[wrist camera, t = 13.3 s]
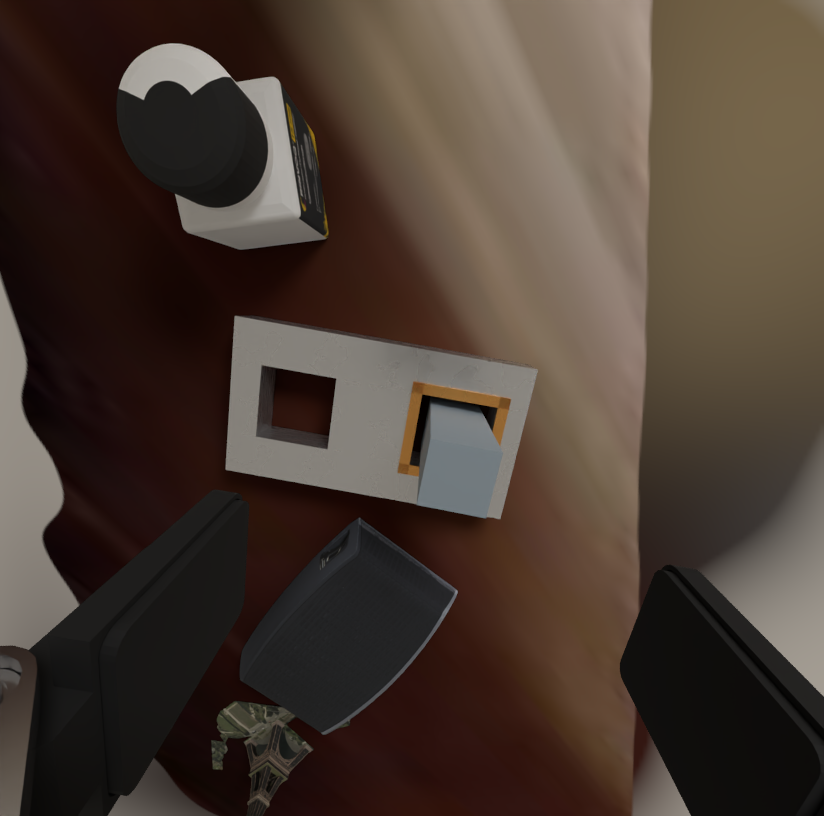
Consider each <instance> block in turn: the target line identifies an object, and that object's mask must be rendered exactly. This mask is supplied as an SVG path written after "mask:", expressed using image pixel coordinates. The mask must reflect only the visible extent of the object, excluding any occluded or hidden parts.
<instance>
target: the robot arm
mask: <svg viewBox="0 0 824 816" xmlns="http://www.w3.org/2000/svg"><path fill="white" fill-rule="evenodd" d="M248 516H249V504H248V502H247V501H242V496H241V495H240V494H239V493H233V492H227V491H221V490H213V491H211V492H210V493H209V494H207V495H206V496H205V497H204V498H203V499H202V500H201V501H200V502H198V503H197V504H196V505H195V506H194V507H193V508H192V509H190V510H189V511H188V512H187V513H186V514H185V515H184V516H182V517H181V518H180V519H179V520H178V521H177V522H176V523H175V524H173V525H172V526H171V527H170V528H169V529H168V530H167V531H165V532H164V533H163V534H162V535H161V536H160V537H159V538H157V539H156V540H155V541H154V542H153V543H152V544H151V545H149V546H148V547H146V548H145V549H144V550H142V551H141V552H140V553H139V554H138V555H137V556H136V557H134V558H133V559H132V560H131V561H130V562H129V563H128V564H126V565H125V566H124V567H123V568H122V569H121V570H120V571H119V572H117V573H116V574H115V575H114V576H113V577H112V578H111V579H109V580H108V581H107V582H106V583H105V584H104V585H103V586H101V587H100V588H99V589H98V590H97V591H96V592H95V593H93V594H92V595H91V596H90V597H89V598H88V599H87V600H85V601H84V602H83V603H82V604H81V605H80V606H79V607H77V608H76V609H75V610H74V611H73V612H72V613H71V614H69V615H68V616H67V617H66V618H65V619H64V620H63V621H61V622H60V623H59V624H58V625H57V626H56V627H55V628H53V629H52V630H51V631H50V632H49V633H48V634H47V635H45V636H44V637H43V638H42V639H41V640H40V641H39V642H37V643H36V644H35V645H34V646H33V647H32V648H31V649H30V650H27V649H24V648H20V647H16V646H0V816H107V815H108V814H109V812H110V811H111V809H112V807H113V806H114V804H115V803H116V801H117V800H118V798H119V796H120V795H124V796H127V795H129V794H130V793H131V792H132V791H133V790H134V789H135V787H136V786H137V784H138V783H139V781H140V780H141V778H142V776H143V775H144V773H145V771H146V770H147V768H148V766H149V765H150V763H151V761H152V760H153V758H154V756H155V755H156V753H157V751H158V750H159V748H160V746H161V745H162V743H163V741H164V740H165V738H166V736H167V735H168V733H169V731H170V730H171V728H172V726H173V725H174V723H175V721H176V720H177V718H178V716H179V715H180V713H181V711H182V710H183V708H184V706H185V705H186V703H187V702H188V700H189V698H190V697H191V695H192V693H193V692H194V690H195V688H196V687H197V685H198V683H199V682H200V680H201V678H202V677H203V675H204V673H205V672H206V670H207V668H208V667H209V665H210V663H211V662H212V660H213V658H214V657H215V655H216V653H217V652H218V650H219V648H220V647H221V645H222V643H223V642H224V640H225V638H226V637H227V635H228V633H229V632H230V630H231V628H232V627H233V625H234V623H235V622H236V620H237V618H238V617H239V615H240V612H241V610H242V607H243V603H244V593H245V574H246V555H247V536H248ZM620 673H621V677H622V680H623V682H624V684H625V686H626V688H627V690H628V692H629V694H630V696H631V698H632V700H633V702H634V704H635V706H636V708H637V710H638V712H639V714H640V715H641V718H642V720H643V722H644V724H645V726H646V728H647V730H648V732H649V734H650V735H651V737H652V739H653V741H654V743H655V745H656V747H657V749H658V751H659V753H660V755H661V757H662V759H663V761H664V763H665V765H666V767H667V769H668V771H669V773H670V775H671V777H672V779H673V781H674V783H675V785H676V787H677V789H678V791H679V793H680V795H681V797H682V799H683V801H684V803H685V805H686V807H687V808H688V810H689V813H690V814H691V816H824V697H823V696H822V695H821V694H820V693H819V692H818V691H817V690H816V689H815V688H814V687H813V685H812V684H810V683H809V681H808V680H807V679H806V678H804V676H803V675H802V674H801V673H800V672H798V670H797V669H796V668H795V667H794V666H793V665H792V664H791V663H790V662H788V660H787V659H786V658H785V657H784V656H783V655H782V654H781V653H780V652H779V651H778V650H777V649H776V648H775V647H774V646H773V645H772V644H771V643H770V642H769V641H768V640H767V639H766V638H765V637H764V636H763V635H762V634H761V633H760V632H759V631H758V630H757V629H756V628H755V627H754V626H753V625H752V624H751V623H750V622H749V621H748V620H747V619H746V618H745V617H744V616H743V615H742V614H741V613H740V612H739V611H738V610H737V609H736V608H735V607H734V606H733V605H732V604H731V603H730V602H729V601H728V600H727V599H726V598H725V597H724V596H723V595H722V594H721V593H720V592H719V591H718V590H717V589H716V588H715V587H714V586H713V585H712V584H711V583H710V582H709V581H708V580H707V579H706V578H705V577H704V576H703V575H702V574H701V573H700V572H699V571H698V570H696V569H691V568H686V567H680V566H674V565H666V566H664V567H663V568H662V570H658V571H657V572H656V573H655V574H654V576H653V579H652V581H651V584H650V587H649V589H648V592H647V594H646V597H645V599H644V602H643V605H642V607H641V610H640V612H639V615H638V617H637V620H636V622H635V625H634V628H633V630H632V633H631V635H630V638H629V640H628V643H627V646H626V648H625V651H624V653H623V656H622V659H621V662H620Z"/></svg>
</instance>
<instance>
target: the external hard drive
mask: <svg viewBox="0 0 824 816" xmlns="http://www.w3.org/2000/svg"><path fill="white" fill-rule="evenodd" d="M457 593H458V591H457V590H456V589H455V588H454V587H452V586H451V585H450V584H448V583H447V582H445V581H444V580H443V579H441V578H440V577H439V576H437V575H436V574H435V573H433V572H432V571H431V570H429V569H428V568H426V567H425V566H424V565H423V564H421V563H420V562H419V561H417V560H416V559H415V558H413V557H412V556H411V555H409V554H408V553H407V552H405V551H404V550H402V549H401V548H400V547H398V546H397V545H396V544H394V543H393V542H392V541H390V540H389V539H388V538H386V537H385V536H384V535H382V534H381V533H379V532H378V531H377V530H375V529H374V528H373V527H371V526H370V525H369V524H367V523H366V522H365V521H363V520H362V519H361V518H358V519H357V520H355V521H353V522H352V523H350V525H348V526H347V527H346V528H345V529H344V530H343V531H341V532H340V533H339V534H338V535H337V536H336V537H335V538H334V539H333V540H332V541H331V542H330V543H329V544H328V545H326V546H325V547H324V548H323V549H322V550H321V551H320V552H319V553H318V554H317V555H316V556H315V557H314V558H313V560H312V561H310V563H309V564H308V565H307V566H306V567H305V568H304V569H303V570H302V571H301V572H300V573H299V574H298V576H297V577H296V578H295V579H294V580H293V581H292V582H291V583H290V585H289V586H288V587H287V588H286V590H285V591H284V592H283V593H282V594H281V596H280V597H279V598H278V599H277V601H276V602H275V603H274V604H273V606H272V607H271V608H270V610H269V611H268V612H267V614H266V615H265V616H264V617H263V619H262V620H261V622H260V623H259V625H258V626H257V628H256V629H255V631H254V632H253V633H252V635H251V637H250V638H249V640H248V641H247V643H246V645H245V646H244V648H243V650H242V654H241V661H240V680H241V681H243V682H244V683H245V684H247V685H249V686H250V687H252V688H254V689H255V690H257V691H258V692H260V693H261V694H263V695H265V696H266V697H268V698H269V699H271V700H272V701H274V702H275V703H277V704H279V705H280V706H282V707H283V708H285V709H286V710H287V711H289V712H291V713H292V714H294V715H295V716H297V717H298V718H300V719H301V720H303V721H304V722H306V723H307V724H309V725H310V726H312V727H313V728H315V729H316V730H318V731H319V732H321V734H323V735H325V734H328V733H329V732H331V731H333V730H335V729H336V728H338V727H339V726H341V725H342V724H344V723H345V722H347V721H348V720H350V719H351V718H352V717H354V716H355V715H357V714H358V713H359V712H360V711H362V710H363V709H364V708H365V707H367V706H368V705H369V704H370V703H372V702H373V701H374V700H375V699H376V698H377V697H378V696H380V695H381V694H382V693H383V692H384V691H385V690H386V689H387V688H388V687H389V686H390V685H391V684H392V683H393V682H394V681H395V680H396V679H397V678H398V677H399V676H400V675H401V674H402V673H403V672H404V671H405V669H406V668H407V667H408V666H409V665H410V664H411V663H412V661H413V660H414V659H415V658H416V656H417V655H418V654H419V653H420V651H421V650H422V649H423V648H424V646H425V645H426V644H427V642H428V641H429V639H430V638H431V637H432V635H433V634H434V632H435V631H436V629H437V628H438V626H439V625H440V623H441V622H442V620H443V619H444V617H445V616H446V614H447V612H448V611H449V609H450V607H451V605H452V604H453V602H454V600H455V598H456V596H457Z"/></svg>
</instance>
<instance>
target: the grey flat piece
mask: <svg viewBox="0 0 824 816" xmlns="http://www.w3.org/2000/svg"><path fill="white" fill-rule="evenodd" d="M276 368H280V369H286V370H292V371H297V372H303V373H308V374H314V375H320V376H325V377H331V378H336V386H335V394H334V402H333V410H332V418H331V426H330V434H329V436H326V435H321V434H315V433H309V432H304V431H298V430H293V429H287V428H281V427H276V426H271V423H272V412H273V400H274V389H275V378H276ZM537 371H538V370H537V369H536V368H534V367H532V366H530V365H528V364H523V363H518V362H512V361H506V360H501V359H495V358H489V357H484V356H478V355H473V354H467V353H461V352H456V351H450V350H444V349H439V348H433V347H428V346H422V345H416V344H411V343H405V342H399V341H394V340H388V339H383V338H377V337H371V336H366V335H360V334H355V333H349V332H343V331H338V330H332V329H326V328H321V327H315V326H310V325H304V324H298V323H293V322H287V321H281V320H276V319H270V318H265V317H259V316H253V315H252V316H235V320H234V337H233V353H232V370H231V387H230V403H229V420H228V437H227V453H226V470H230V471H235V472H241V473H246V474H252V475H257V476H263V477H269V478H274V479H280V480H285V481H291V482H296V483H302V484H308V485H313V486H319V487H324V488H330V489H335V490H341V491H347V492H352V493H358V494H363V495H369V496H374V497H380V498H386V499H391V500H397V501H402V502H408V503H413V504H417V493H418V479H419V465H420V452H415V451H412V448H413V442H414V437H415V431H416V426H417V421H418V415H419V410H420V404H421V399H422V394H423V395H429V396H434V397H440V398H445V399H451V400H457V401H462V402H468V403H473V404H479V405H485V406H490V407H489V411H488V416H487V420H486V421H487V423H488V425H489V427H490V429H491V430H492V432H493V434H494V436H495V438H496V440H497V442H498V444H499V446H500V448H501V450H502V452H503V456H502V459H501V463H500V467H499V471H498V475H497V479H496V482H495V486H494V490H493V494H492V498H491V502H490V505H489V509H488V513H487V517H491V518H497V519H500V518H501V514H502V510H503V506H504V502H505V498H506V494H507V490H508V486H509V482H510V479H511V475H512V471H513V467H514V463H515V459H516V455H517V451H518V447H519V443H520V439H521V435H522V431H523V427H524V423H525V419H526V415H527V411H528V407H529V403H530V399H531V395H532V391H533V387H534V383H535V379H536V375H537Z"/></svg>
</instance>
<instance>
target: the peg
mask: <svg viewBox="0 0 824 816" xmlns="http://www.w3.org/2000/svg"><path fill="white" fill-rule="evenodd" d="M502 456H503V452H502V450H501V448H500V446H499V444H498V442H497V440H496V438H495V436H494V434H493V432H492V430H491V429H490V427H489V425H488V423H487V421H486V419H485V417H484V415H483V413H482V411H481V409H480V407H479V406H477V405H471V404H466V403H461V402H456V401H451V400H446V399H441V398H435V397H430V402H429V406H428V411H427V416H426V421H425V426H424V431H423V436H422V441H421V451H420V465H419V479H418V493H417V505H419V506H425V507H430V508H435V509H440V510H445V511H450V512H455V513H461V514H466V515H471V516H476V517H481V518H486V517H487V513H488V509H489V505H490V502H491V498H492V494H493V490H494V486H495V482H496V479H497V475H498V471H499V467H500V463H501V459H502Z"/></svg>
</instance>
